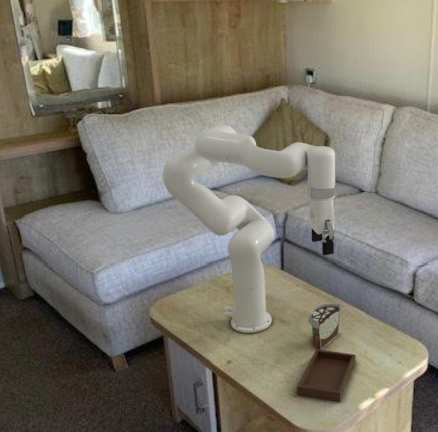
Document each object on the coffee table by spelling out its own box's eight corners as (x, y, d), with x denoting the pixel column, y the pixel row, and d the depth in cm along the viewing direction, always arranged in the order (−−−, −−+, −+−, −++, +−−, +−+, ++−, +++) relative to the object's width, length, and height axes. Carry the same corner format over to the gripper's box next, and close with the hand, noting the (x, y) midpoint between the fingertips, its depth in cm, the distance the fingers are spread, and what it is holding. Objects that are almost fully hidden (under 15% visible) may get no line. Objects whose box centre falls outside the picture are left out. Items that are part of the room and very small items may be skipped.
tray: (297, 395, 163) (296, 386, 162) (316, 357, 179) (316, 349, 178) (340, 402, 161) (340, 393, 160) (355, 362, 177) (355, 354, 176)
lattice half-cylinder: (324, 327, 194) (324, 299, 190) (340, 333, 191) (340, 304, 188) (300, 346, 184) (300, 316, 181) (318, 352, 181) (317, 322, 178)
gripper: (299, 183, 179) (301, 238, 185) (318, 203, 164) (319, 261, 170) (324, 180, 181) (325, 234, 188) (345, 199, 166) (345, 257, 173)
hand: (322, 247), depth 179 cm, fingers open, 9 cm apart
